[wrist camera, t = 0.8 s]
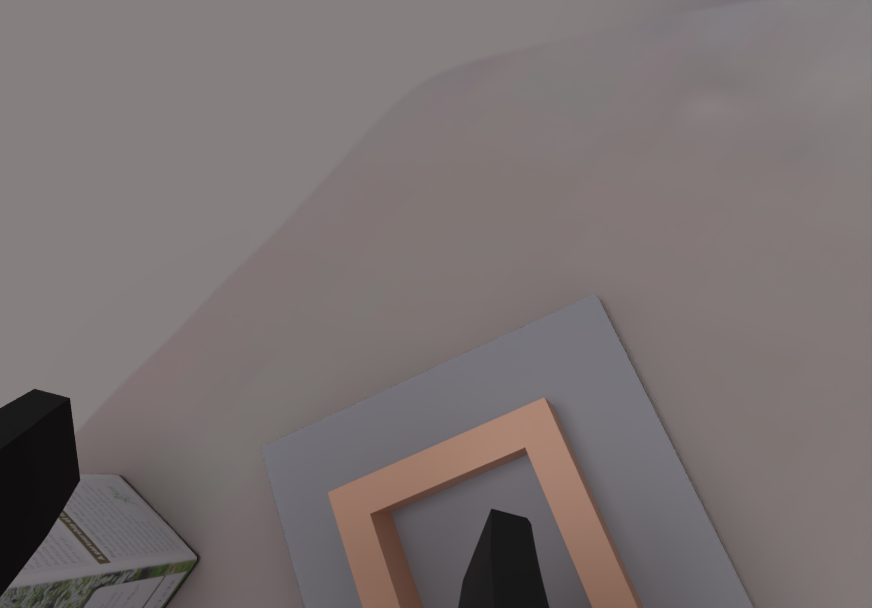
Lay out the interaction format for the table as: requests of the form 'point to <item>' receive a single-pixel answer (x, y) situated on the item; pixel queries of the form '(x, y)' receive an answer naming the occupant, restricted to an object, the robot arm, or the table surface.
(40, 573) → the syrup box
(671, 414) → the table surface
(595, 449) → the collar stand
